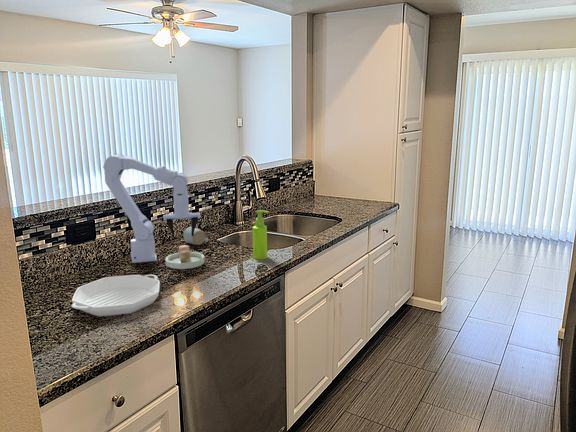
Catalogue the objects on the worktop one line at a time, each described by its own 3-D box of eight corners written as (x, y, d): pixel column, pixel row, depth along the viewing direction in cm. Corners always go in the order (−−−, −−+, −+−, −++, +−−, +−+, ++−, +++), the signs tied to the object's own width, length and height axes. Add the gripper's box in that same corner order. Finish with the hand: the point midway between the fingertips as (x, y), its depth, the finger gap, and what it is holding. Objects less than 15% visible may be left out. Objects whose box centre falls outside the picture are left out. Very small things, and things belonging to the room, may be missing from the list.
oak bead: (181, 266, 175) (180, 254, 174) (180, 263, 178) (179, 251, 177) (191, 265, 176) (190, 253, 175) (190, 262, 180) (190, 250, 178)
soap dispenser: (267, 260, 184) (267, 212, 180) (251, 258, 186) (250, 211, 181) (271, 255, 190) (270, 209, 185) (255, 254, 191) (254, 208, 187)
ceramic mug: (193, 247, 202) (193, 230, 200) (183, 243, 207) (182, 227, 205) (212, 242, 209) (212, 226, 208) (201, 239, 215) (201, 224, 213)
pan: (130, 279, 163) (129, 268, 162) (182, 293, 151) (182, 281, 150) (49, 311, 137) (47, 297, 136) (104, 331, 124) (102, 316, 123)
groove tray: (166, 270, 172) (166, 265, 171) (165, 258, 186) (165, 253, 185) (206, 266, 176) (205, 261, 176) (202, 255, 190) (201, 250, 190)
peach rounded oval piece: (179, 260, 182) (179, 248, 181) (179, 257, 186) (178, 245, 185) (189, 259, 183) (189, 247, 182) (189, 256, 187) (188, 244, 186)
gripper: (162, 206, 176) (165, 240, 179) (200, 204, 180) (201, 237, 183) (162, 203, 182) (164, 235, 185) (198, 201, 186) (200, 233, 189)
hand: (183, 236), depth 184 cm, fingers open, 7 cm apart
